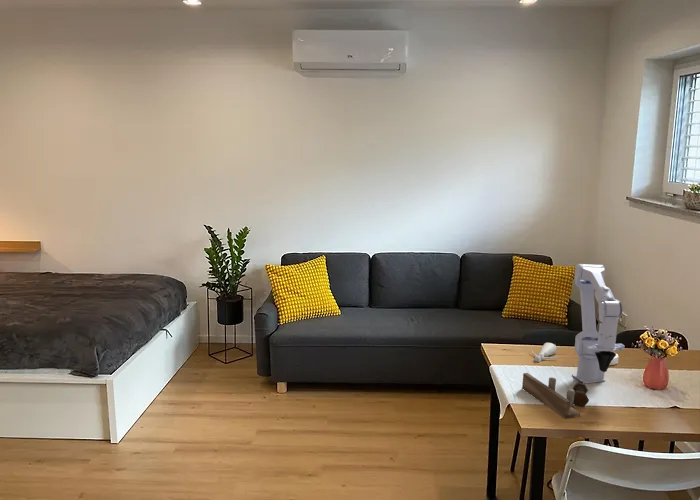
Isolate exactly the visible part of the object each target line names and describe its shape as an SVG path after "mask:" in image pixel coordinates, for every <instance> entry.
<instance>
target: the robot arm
mask: <svg viewBox="0 0 700 500" xmlns="http://www.w3.org/2000/svg"><path fill="white" fill-rule="evenodd" d="M605 278H606V269H605V266H604V264H586V263H577V264H576V266H575V268H574V283H575V286H576V287H577V288H579V293H580V296H579V297H580V309H581V310H580V311H581V324H582V325H581V328H582V331H580V332H579V333H578V334H576V335H575V341H574V342H575V343H574V351H575V353H576V355H577V356H578V360H577V368H576V369H577V370H576V373H572V374H571V377H574V378H575V379H577V380H579V381H581V382H583V383H585V384H589V383H599V382H605V381H606V379H605V372H608V370H609V367H610V366H611V365H610V363H611V361H612V360H613V358H614V357H615V356H616V351H625V345H624V344H623V343H616V341H617V331H618V324H619V318H621V317H622V315H623V304H622V302H621V300H619V299H616V298H615V296H614V294H613V291H612V290H611V288H610V287H608V286H606V283H605ZM595 299H596V302H597V304H598V320H599V325H598V331H597V322H596V309H595V308H596V307H595Z"/></svg>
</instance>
